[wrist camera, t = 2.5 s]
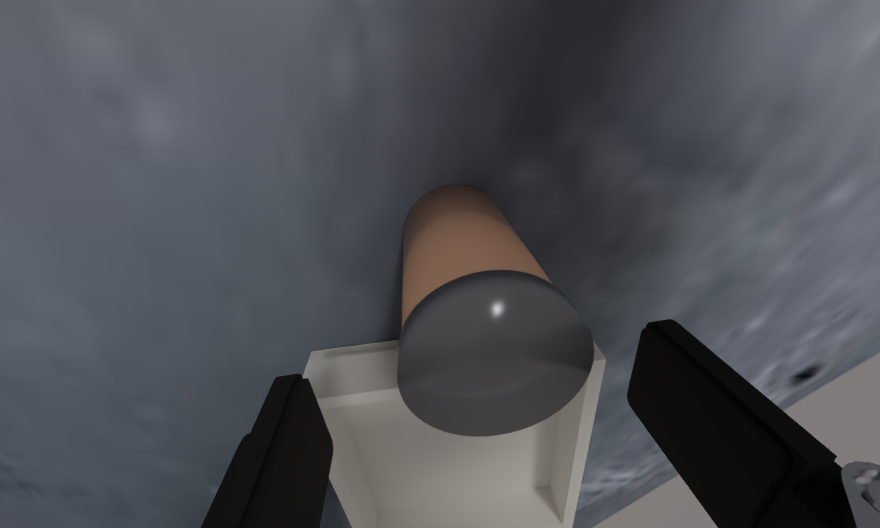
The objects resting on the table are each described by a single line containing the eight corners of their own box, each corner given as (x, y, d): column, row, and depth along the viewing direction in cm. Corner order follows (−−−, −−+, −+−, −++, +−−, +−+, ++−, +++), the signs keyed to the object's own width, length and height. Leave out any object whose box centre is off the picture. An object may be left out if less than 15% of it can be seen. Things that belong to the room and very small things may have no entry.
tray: (311, 351, 19) (293, 402, 16) (575, 316, 20) (606, 359, 17) (371, 507, 28) (366, 559, 25) (554, 479, 29) (572, 527, 25)
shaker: (393, 190, 15) (380, 308, 7) (505, 176, 15) (608, 278, 8) (409, 285, 18) (412, 447, 10) (505, 272, 18) (582, 423, 10)
